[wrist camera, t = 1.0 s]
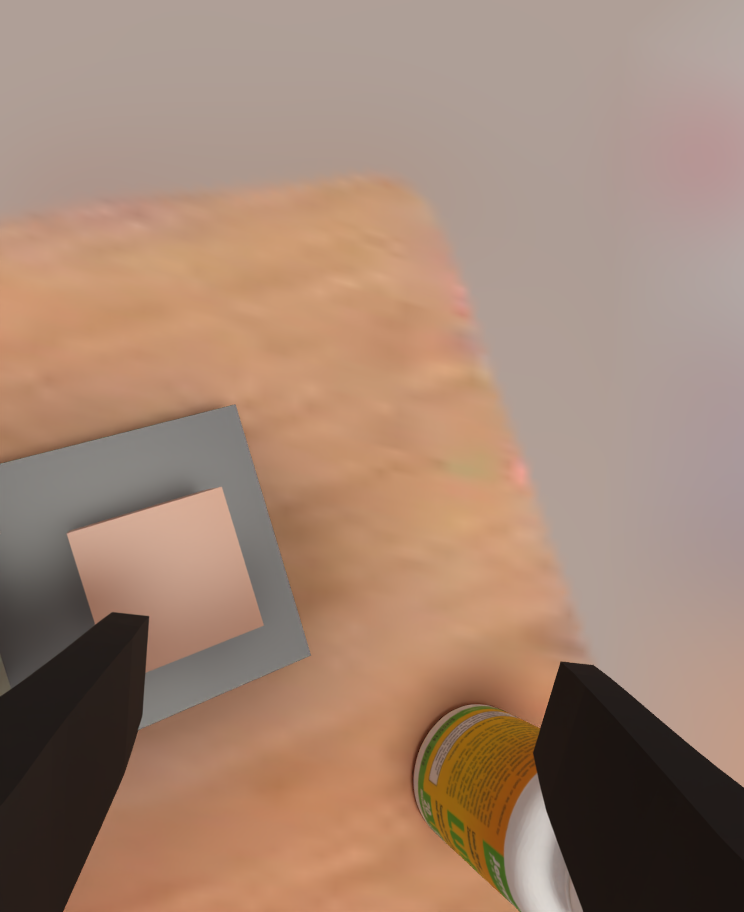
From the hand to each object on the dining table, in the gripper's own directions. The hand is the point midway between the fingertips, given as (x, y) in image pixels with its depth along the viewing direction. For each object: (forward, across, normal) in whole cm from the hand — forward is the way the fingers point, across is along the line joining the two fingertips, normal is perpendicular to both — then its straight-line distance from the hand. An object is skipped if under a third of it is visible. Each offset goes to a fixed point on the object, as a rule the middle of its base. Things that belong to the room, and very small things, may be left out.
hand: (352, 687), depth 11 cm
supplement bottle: (+12, -7, +12) cm, 19 cm away
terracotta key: (+8, +5, +3) cm, 10 cm away
